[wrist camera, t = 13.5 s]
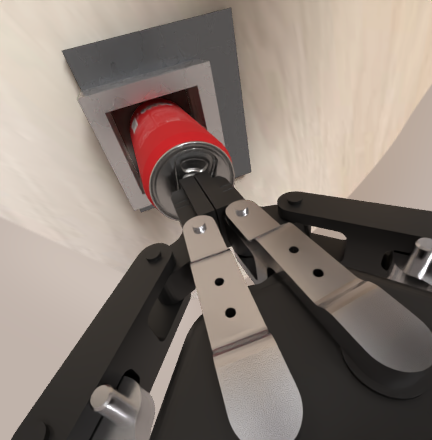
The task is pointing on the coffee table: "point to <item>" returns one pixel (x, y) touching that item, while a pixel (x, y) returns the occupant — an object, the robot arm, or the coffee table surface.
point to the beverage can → (173, 151)
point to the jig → (164, 86)
